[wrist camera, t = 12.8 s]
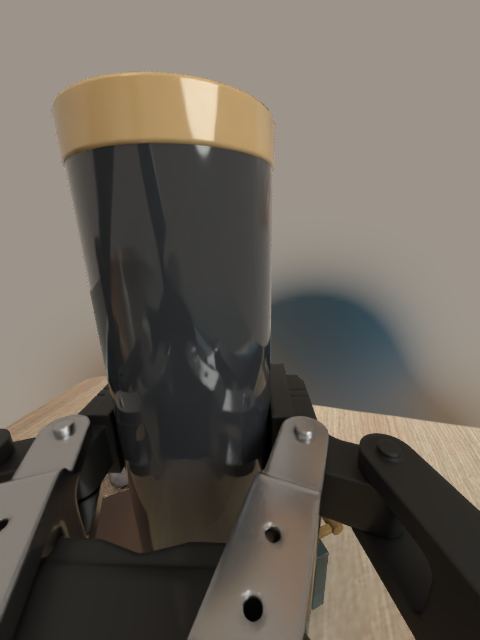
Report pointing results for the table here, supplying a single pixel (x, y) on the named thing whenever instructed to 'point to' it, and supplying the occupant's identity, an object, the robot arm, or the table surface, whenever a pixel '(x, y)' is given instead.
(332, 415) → the table surface
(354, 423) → the table surface
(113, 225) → the black cylinder
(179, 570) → the robot arm
